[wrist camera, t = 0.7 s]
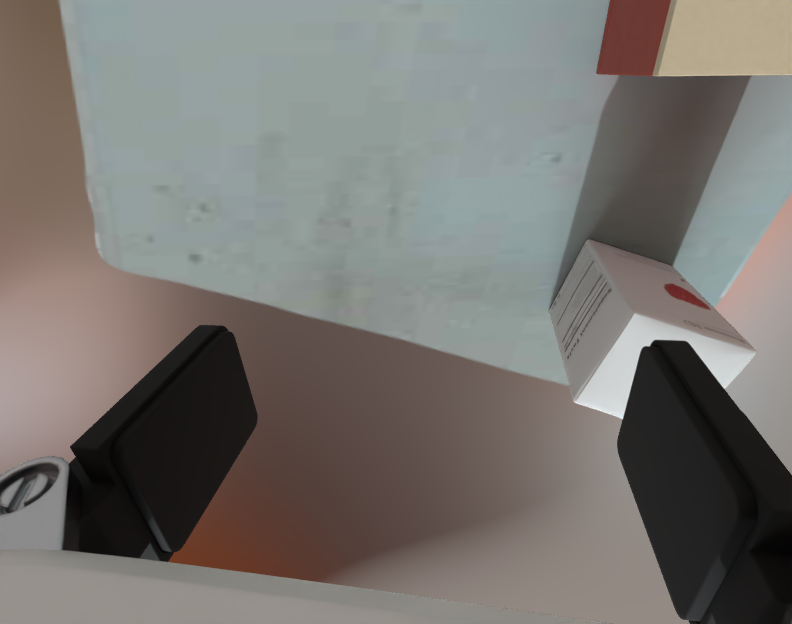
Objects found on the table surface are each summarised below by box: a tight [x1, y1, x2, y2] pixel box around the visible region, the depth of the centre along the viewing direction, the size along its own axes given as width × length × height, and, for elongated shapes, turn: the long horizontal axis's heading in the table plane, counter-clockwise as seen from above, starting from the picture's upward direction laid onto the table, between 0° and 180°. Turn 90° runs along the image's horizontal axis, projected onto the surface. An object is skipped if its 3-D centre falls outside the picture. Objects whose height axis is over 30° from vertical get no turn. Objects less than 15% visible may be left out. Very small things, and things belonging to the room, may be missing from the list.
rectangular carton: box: [549, 239, 757, 419], centre depth 37 cm, size 9×9×15 cm
